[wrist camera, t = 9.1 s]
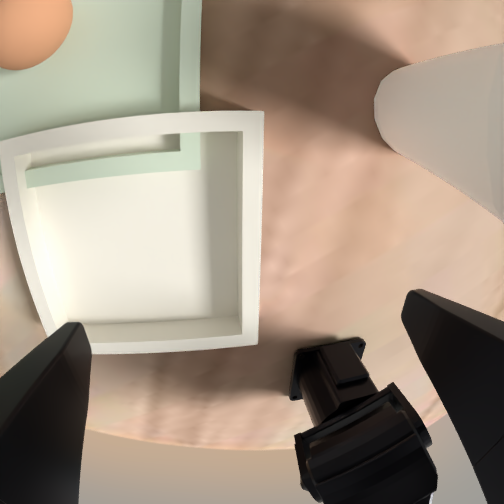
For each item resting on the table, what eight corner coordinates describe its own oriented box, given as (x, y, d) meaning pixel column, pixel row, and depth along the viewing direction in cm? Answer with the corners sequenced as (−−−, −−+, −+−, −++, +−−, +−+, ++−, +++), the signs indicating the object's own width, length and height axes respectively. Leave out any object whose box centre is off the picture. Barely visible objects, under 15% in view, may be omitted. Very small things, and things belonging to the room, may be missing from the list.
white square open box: (249, 317, 23) (257, 344, 20) (65, 327, 20) (54, 353, 18) (252, 110, 17) (264, 110, 14) (23, 135, 14) (-2, 141, 12)
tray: (199, 163, 17) (200, 169, 16) (-42, 197, 14) (-58, 206, 13) (208, -93, 10) (210, -109, 8) (-33, -28, 7) (-46, -34, 5)
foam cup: (349, 37, 15) (527, 1, 4) (452, 59, 17) (600, 73, 5) (354, 180, 20) (512, 277, 8) (451, 176, 21) (585, 243, 9)
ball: (82, 63, 13) (47, 48, 8) (8, 82, 12) (-39, 80, 7) (88, -13, 11) (61, -47, 6) (14, 9, 10) (-27, -10, 5)
